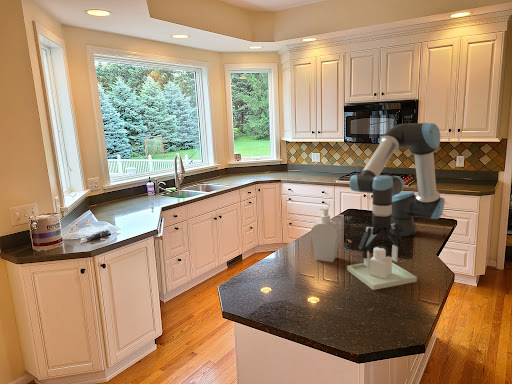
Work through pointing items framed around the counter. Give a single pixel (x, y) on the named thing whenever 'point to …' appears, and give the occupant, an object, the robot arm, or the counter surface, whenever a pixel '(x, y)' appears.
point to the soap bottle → (325, 237)
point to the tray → (395, 278)
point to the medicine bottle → (380, 262)
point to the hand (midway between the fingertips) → (380, 262)
